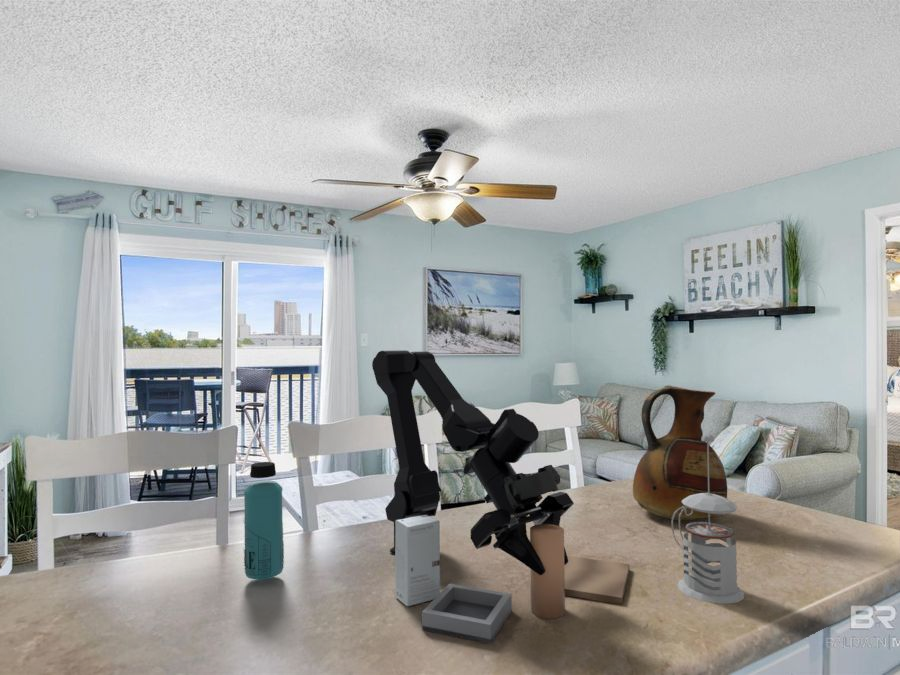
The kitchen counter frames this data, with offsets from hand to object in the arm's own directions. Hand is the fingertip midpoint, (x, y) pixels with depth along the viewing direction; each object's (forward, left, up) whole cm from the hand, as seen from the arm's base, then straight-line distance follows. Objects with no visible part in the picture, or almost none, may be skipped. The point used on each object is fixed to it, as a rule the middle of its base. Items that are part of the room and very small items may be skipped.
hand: (554, 568), depth 82 cm
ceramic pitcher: (+17, +58, -7) cm, 60 cm away
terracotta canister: (-1, +1, -7) cm, 7 cm away
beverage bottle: (-48, -6, -7) cm, 49 cm away
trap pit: (-11, -6, -7) cm, 15 cm away
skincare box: (-21, -2, -7) cm, 22 cm away
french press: (+21, +18, -7) cm, 28 cm away
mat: (+2, +14, -7) cm, 15 cm away
